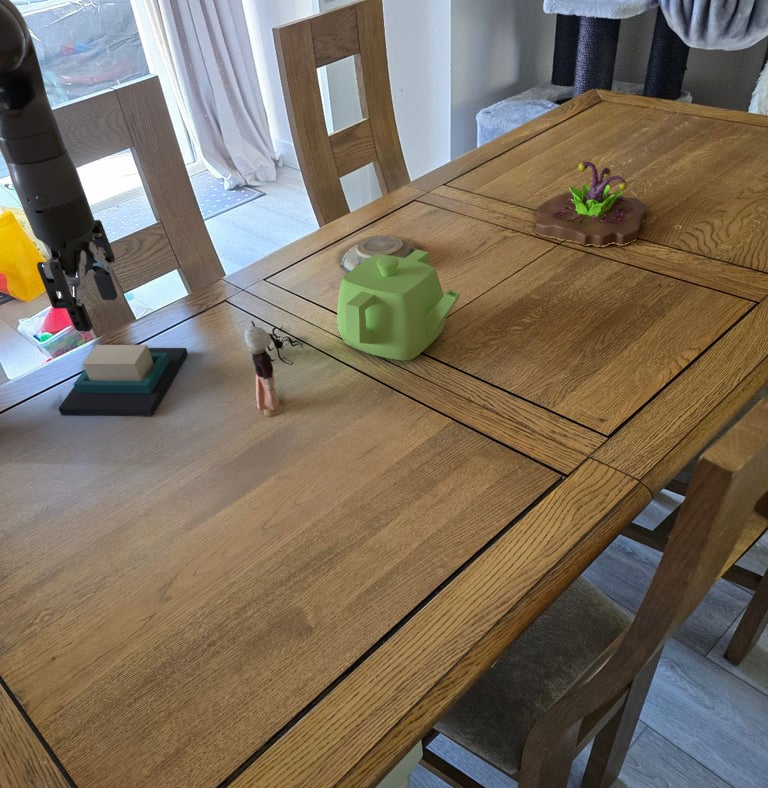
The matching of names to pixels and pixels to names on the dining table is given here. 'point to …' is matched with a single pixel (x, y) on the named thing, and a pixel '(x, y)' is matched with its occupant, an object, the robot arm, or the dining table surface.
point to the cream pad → (118, 363)
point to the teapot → (393, 306)
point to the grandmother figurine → (263, 371)
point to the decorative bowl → (376, 250)
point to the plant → (592, 213)
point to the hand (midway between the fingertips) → (98, 314)
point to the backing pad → (126, 389)
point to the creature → (279, 343)
